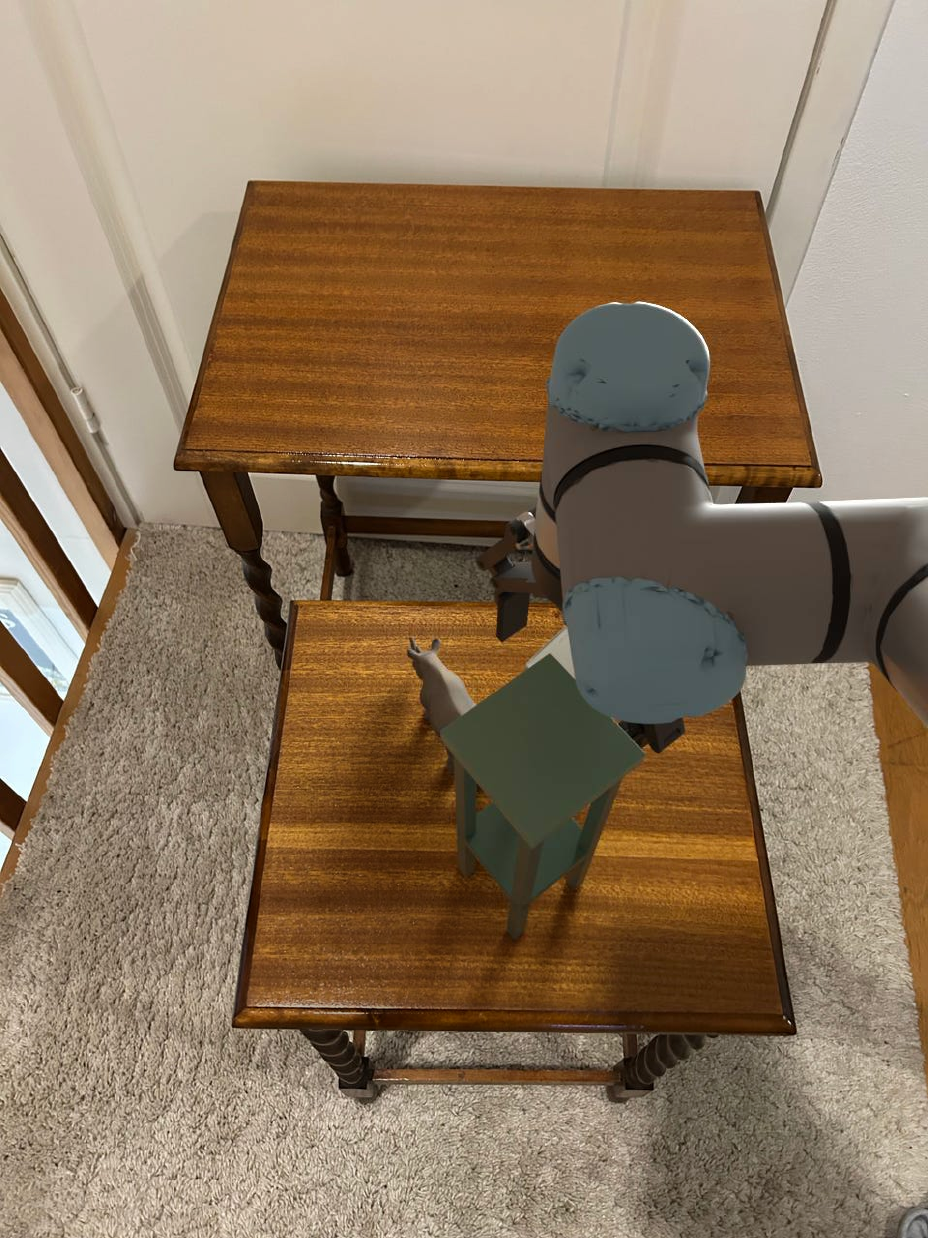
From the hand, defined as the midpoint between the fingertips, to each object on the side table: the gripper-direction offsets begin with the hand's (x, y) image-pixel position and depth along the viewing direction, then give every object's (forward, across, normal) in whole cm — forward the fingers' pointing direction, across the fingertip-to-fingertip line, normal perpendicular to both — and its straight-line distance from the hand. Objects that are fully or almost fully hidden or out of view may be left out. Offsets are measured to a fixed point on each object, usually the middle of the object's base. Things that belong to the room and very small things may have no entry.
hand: (565, 689), depth 75 cm
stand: (+6, -8, +11) cm, 15 cm away
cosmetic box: (+6, 0, 0) cm, 6 cm away
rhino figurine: (+6, +6, +7) cm, 12 cm away
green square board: (-19, -8, +11) cm, 23 cm away
